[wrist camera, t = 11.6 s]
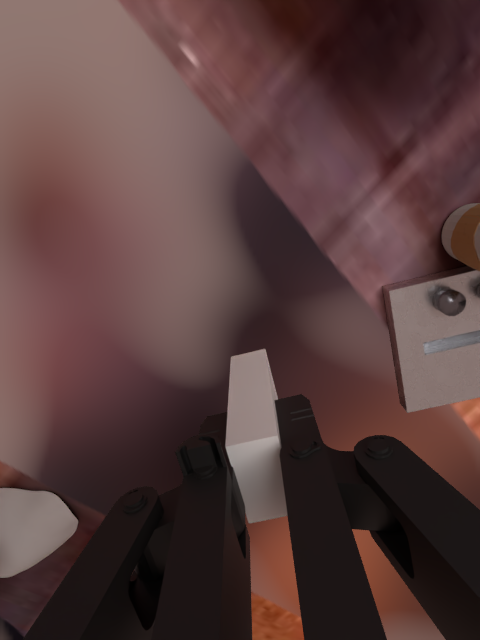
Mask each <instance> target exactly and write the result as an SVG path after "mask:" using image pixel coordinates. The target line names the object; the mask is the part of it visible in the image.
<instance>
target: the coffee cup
mask: <svg viewBox="0 0 480 640" xmlns="http://www.w3.org/2000/svg"><path fill="white" fill-rule="evenodd" d="M442 244H443V246H444V248H445V250H446V251H447V253H448V254H449V255H450V256H452V257H453V258H455V259H457V260H459V261H461V262H462V263H464V264H466V265H467V266H470V267H472V268H474V269H476V270H478V271H480V203H473V204H468V205H464V206H462V207H460V208H458V209H456V210H455V211H454V212H453V213H452V214H451V215H450V216H449V217H448V219H447V220H446V222H445V224H444V226H443V229H442Z"/></svg>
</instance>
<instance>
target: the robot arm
mask: <svg viewBox="0 0 480 640" xmlns="http://www.w3.org/2000/svg"><path fill="white" fill-rule="evenodd" d="M175 453H176V456H177V459H178V461H179V465H180V467H181V470H182V473H183V481H182V484H181V485H180V486H178V487H176V488H174V489H172V490H170V491H168V492H166V493H164V494H161V495H158V492H157V490H155V489H154V488H153V487H147V486H146V487H139V488H136V489H133V490H131V491H129V492H127V493H126V494H124V495H123V496H122V497H120V499H119V500H118V501H117V502H116V503H115V504H114V506H113V507H112V508H111V510H110V511H109V513H108V514H107V516H106V517H105V519H104V520H103V522H102V523H101V525H100V526H99V528H98V529H97V531H96V532H95V534H94V535H93V537H92V538H91V540H90V541H89V542H88V544H87V545H86V547H85V548H84V550H83V551H82V553H81V554H80V556H79V557H78V559H77V560H76V562H75V563H74V565H73V566H72V568H71V569H70V571H69V572H68V573H67V575H66V576H65V578H64V579H63V581H62V582H61V584H60V585H59V587H58V588H57V590H56V591H55V593H54V594H53V596H52V597H51V599H50V600H49V602H48V603H47V605H46V606H45V607H44V609H43V610H42V612H41V613H40V615H39V616H38V618H37V619H36V621H35V622H34V624H33V625H32V627H31V628H30V630H29V631H28V633H27V634H26V636H25V637H24V639H23V640H252V616H251V581H250V580H251V576H250V537H249V534H248V530H247V527H246V524H245V512H246V516H247V519H248V522H249V523H254V522H259V521H264V520H269V519H274V518H278V517H283V516H288V522H289V529H290V537H291V543H292V551H293V559H294V566H295V573H296V581H297V588H298V595H299V603H300V610H301V618H302V625H303V632H304V640H387V639H386V636H385V632H384V629H383V626H382V623H381V620H380V616H379V613H378V610H377V607H376V604H375V601H374V598H373V595H372V591H371V588H370V585H369V582H368V579H367V576H366V573H365V570H364V566H363V563H362V560H361V557H360V554H359V550H358V548H357V544H356V541H355V538H354V535H353V532H352V529H361V530H369V531H370V533H371V536H372V537H373V539H374V540H375V542H376V543H377V545H378V546H379V547H380V549H381V550H382V551H383V553H384V554H385V556H386V557H387V558H388V559H389V561H390V562H391V564H392V565H393V567H394V568H395V570H396V571H397V572H398V574H399V575H400V576H401V578H402V579H403V581H404V582H405V584H406V585H407V586H408V588H409V589H410V590H411V592H412V593H413V594H414V596H415V597H416V599H417V600H418V602H419V603H420V604H421V606H422V607H423V609H424V610H425V611H426V613H427V614H428V615H429V617H430V618H431V619H432V621H433V622H434V624H435V625H436V626H437V628H438V629H439V631H440V632H441V634H442V635H443V636H444V638H445V639H446V640H480V510H479V509H478V508H477V507H476V506H475V505H473V504H472V503H471V502H470V501H469V500H468V499H466V498H465V497H464V496H463V495H462V494H461V493H460V492H458V491H457V490H456V489H455V488H454V487H453V486H452V485H450V484H449V483H448V482H447V481H446V480H445V479H444V478H442V477H441V476H440V475H439V474H438V473H437V472H435V471H434V470H433V469H432V468H431V467H430V466H429V465H427V464H426V463H425V462H424V461H423V460H422V459H420V458H419V457H418V456H417V455H416V454H415V453H414V452H412V451H411V450H410V449H409V448H408V447H407V446H405V445H404V444H403V443H402V442H401V441H399V440H397V439H396V438H394V437H390V436H386V435H375V436H371V437H367V438H365V439H363V440H361V441H359V442H358V443H357V444H356V446H355V447H354V451H338V450H334V449H332V448H330V447H328V446H326V445H325V444H324V443H323V441H322V439H321V436H320V433H319V430H318V426H317V423H316V420H315V417H314V414H313V411H312V408H311V405H310V401H309V400H308V399H307V398H306V397H304V396H303V395H301V394H300V395H296V396H292V397H287V398H283V399H278V397H277V394H276V390H275V386H274V382H273V378H272V374H271V370H270V366H269V362H268V358H267V354H266V350H265V349H263V350H258V351H254V352H249V353H245V354H241V355H237V356H233V357H231V366H230V382H229V398H228V412H225V413H221V414H216V415H212V416H207V418H206V419H205V420H204V422H203V423H202V424H201V426H200V433H199V435H197V436H193V437H191V438H189V439H187V440H186V441H184V442H183V443H182V444H181V445H180V446H179V447H178V449H177V450H176V452H175ZM134 569H135V570H134ZM133 571H134V572H133ZM132 572H133V574H132ZM131 575H132V576H131Z"/></svg>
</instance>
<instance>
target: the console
mask: <svg viewBox="0 0 480 640" xmlns="http://www.w3.org/2000/svg"><path fill="white" fill-rule="evenodd" d="M382 289H383V295H384V302H385V308H386V315H387V321H388V328H389V334H390V341H391V347H392V353H393V360H394V366H395V373H396V380H397V386H398V393H399V399H400V404H401V405H402V406H403V407H404V409H405V410H406V412H407V413H408V412H413V411H418V410H423V409H427V408H432V407H437V406H441V405H446V404H451V403H455V402H460V401H465V400H469V399H474V398H479V397H480V271H478V270H476V269H474V268H472V267H470V266H465V267H461V268H456V269H452V270H448V271H444V272H440V273H435V274H431V275H427V276H423V277H419V278H414V279H410V280H406V281H402V282H398V283H393V284H389V285H385V286H382Z"/></svg>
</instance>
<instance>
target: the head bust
mask: <svg viewBox="0 0 480 640" xmlns="http://www.w3.org/2000/svg"><path fill="white" fill-rule="evenodd" d="M77 525H78V520H77V518H76V517H75V516H74V515H73V514H72V512H71V511H70V510H69V509H68V507H67V506H66V505H65V503H64V502H63V501H62V500H61V499H60V498H59V497H58V496H57V495H55V494H53V493H51V492H47V491H29V490H23V489H15V488H0V578H7V577H11V576H14V575H16V574H18V573H20V572H22V571H24V570H27V569H29V568H30V567H32V566H34V565H35V564H37V563H38V562H40V561H41V560H43V559H44V558H45V557H47V556H48V555H50V554H51V553H52V552H54V551H55V550H56V549H57V548H59V547H60V546H61V545H62V544H63V543H64V542H65V541H67V540H68V539H69V538H70V537H71V536H72V535H73V534H74V532H75V531H76V529H77Z"/></svg>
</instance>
